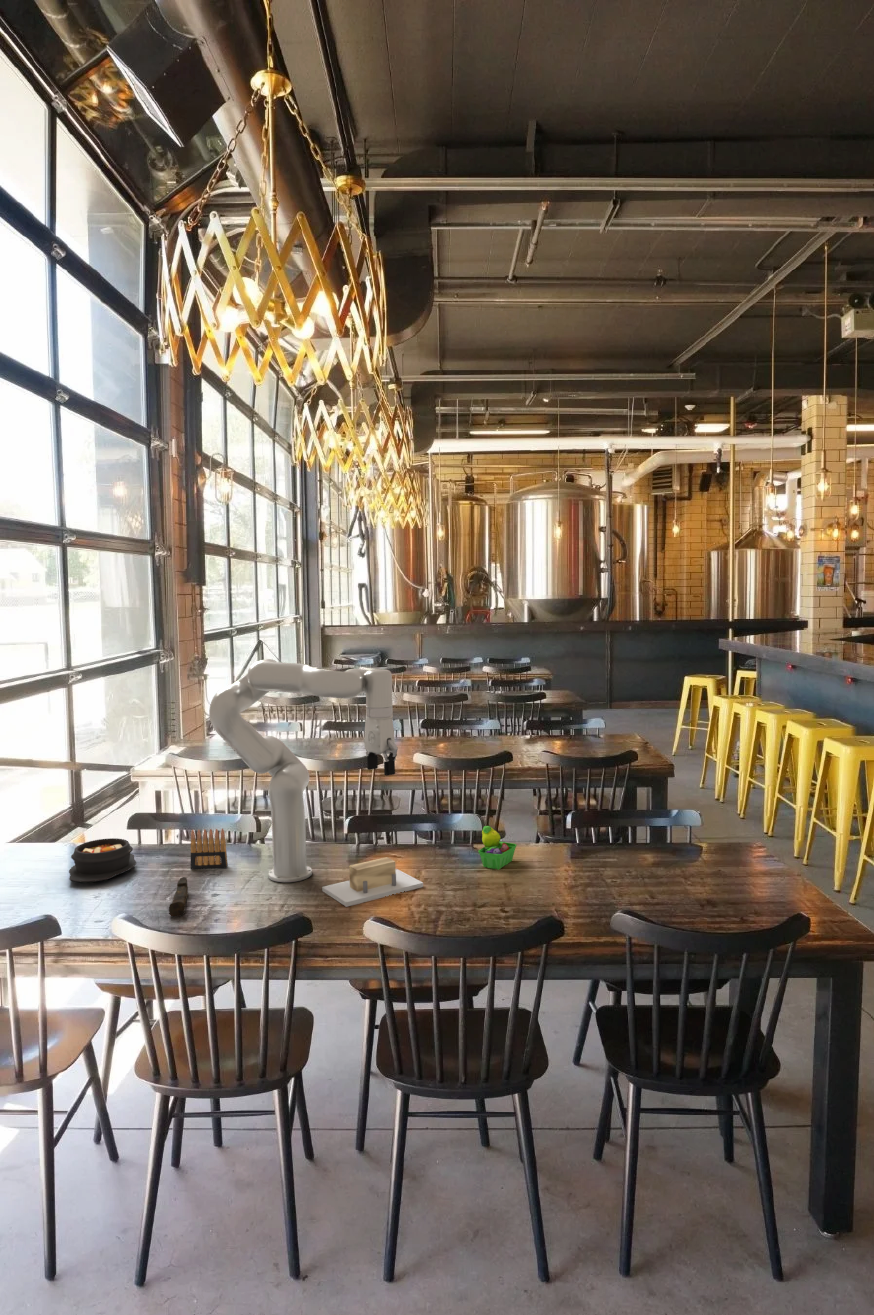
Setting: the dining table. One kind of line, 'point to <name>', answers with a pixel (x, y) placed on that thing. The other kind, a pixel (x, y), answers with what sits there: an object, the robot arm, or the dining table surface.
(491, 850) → the fruit basket
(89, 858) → the casserole
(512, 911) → the dining table surface
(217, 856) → the ammunition clip
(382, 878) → the block
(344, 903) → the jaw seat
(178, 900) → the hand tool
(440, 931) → the dining table surface
